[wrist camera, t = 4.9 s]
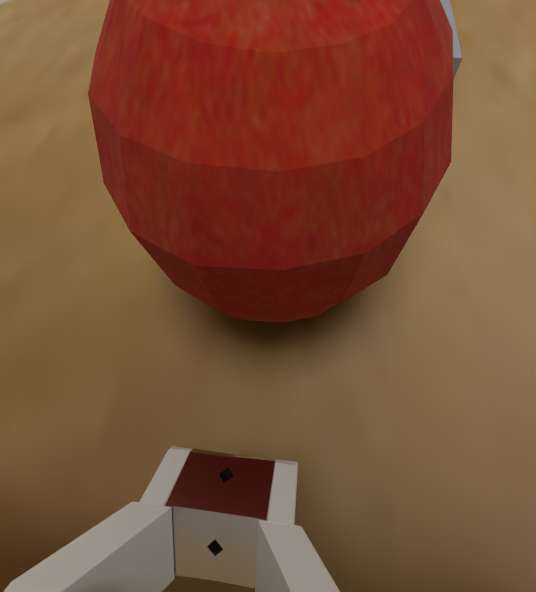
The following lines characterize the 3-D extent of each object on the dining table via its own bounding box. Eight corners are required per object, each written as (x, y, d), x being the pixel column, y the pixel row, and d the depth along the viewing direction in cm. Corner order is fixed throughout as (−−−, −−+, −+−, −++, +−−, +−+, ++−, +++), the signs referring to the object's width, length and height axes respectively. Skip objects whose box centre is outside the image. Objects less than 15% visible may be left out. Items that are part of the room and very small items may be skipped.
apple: (249, 418, 15) (42, 89, 2) (145, 255, 19) (-128, -174, 7) (431, 287, 17) (794, -221, 5) (302, 167, 21) (319, -272, 9)
